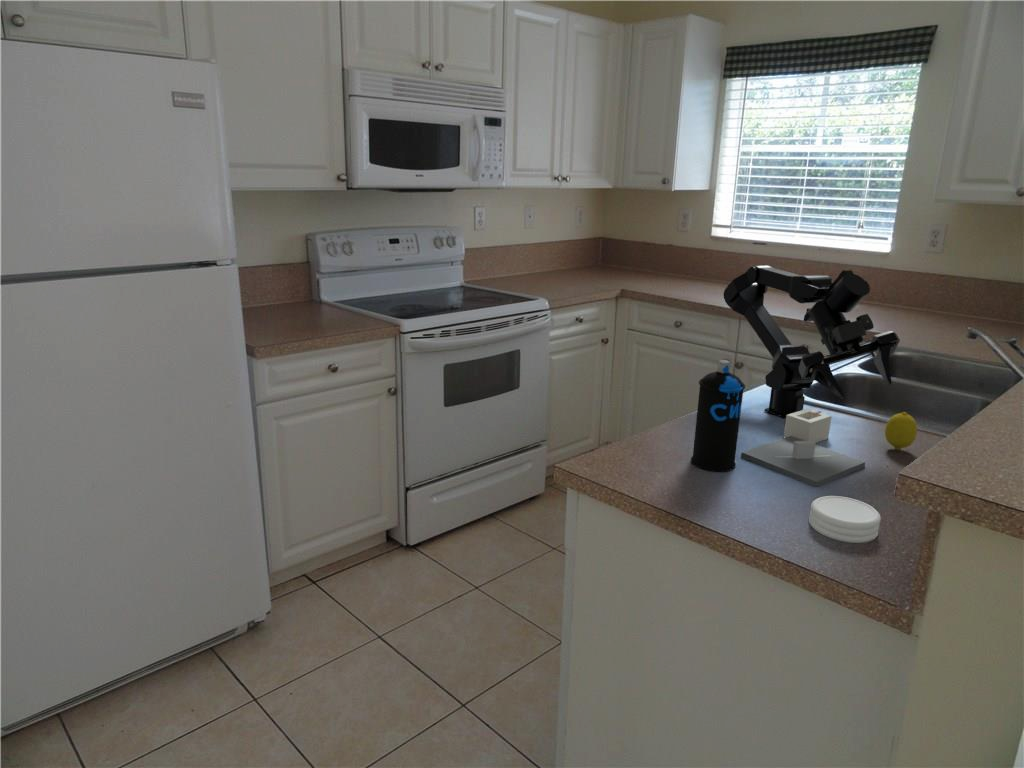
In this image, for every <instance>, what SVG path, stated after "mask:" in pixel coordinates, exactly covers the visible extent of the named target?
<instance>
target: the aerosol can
mask: <svg viewBox="0 0 1024 768" xmlns="http://www.w3.org/2000/svg"><path fill="white" fill-rule="evenodd" d="M730 364H731V361H729V360H726V359H720V360H718V366H717V367H718V368H717V370H716V371H713V372H709V373H708V374H705V375H704V376H703V377H702V378H701V379H699V381H698V386H699V392H698V393H699V394H698V402H697V412H696V422H695V429H694V430H695V432H694V440H693V441H694V442H693V449H692V450H693V451H692V456H691V458H690V462H691V463H692V464H693V465H694V466H695V467H697V468H699V469H701V470H704V471H709V472H714V473H715V472H716V473H717V472H719V473H725V472H729V471H733V470H734V469H735V468H736V467H737V465H736V464H737V463H736V462H735V461H736V453H737V447H738V446H737V445H738V437H739V429H740V421H741V413H742V405H743V398H744V397H743V396H744V390H745V388H746V385H745V383H744V382H743V381H742V380H741V378H740V377H738V376H737V375H735V374H733V373H731V372H730V366H731V365H730Z"/></svg>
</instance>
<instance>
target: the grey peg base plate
mask: <svg viewBox="0 0 1024 768" xmlns="http://www.w3.org/2000/svg"><path fill="white" fill-rule="evenodd" d="M740 457H741V458H742V459H745V460H747V461H750V462H752V463H756V464H758V465H760V466H762V467H766V468H767V469H770V470H772V471H775V472H777V473H780V474H782V475H785V476H787V477H790V478H793V479H795V480H798V481H800V482H802V483H805V484H808V485H810V486H812V487H815V488H816V487H820V486H822V485H824V484H826V483H829V482H831V481H833V480H837V479H839V478H840V477H843V476H846V475H848V474H851V473H853V472H856V471H858V470H860V469H862V468H863V469H864V468H865V466H866V461H863V460H861V459H858V458H855V457H852V456H849V455H847V454H844V453H840V452H839V451H835V450H832V449H829V448H827V447H824V446H821V445H818V444H817V443H814V442H813V441H804V440H801V439H798V438H795V437H793V436H789V437H786V438H783V437H782V438H780V439H777V440H775V441H774V440H773V441H771V442H768V443H765V444H762V445H759V446H756V447H753V448H750V449H747V450H743V451H741V453H740Z"/></svg>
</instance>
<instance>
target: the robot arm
mask: <svg viewBox="0 0 1024 768" xmlns="http://www.w3.org/2000/svg"><path fill="white" fill-rule="evenodd" d="M768 287H770V288H772V289H775V290H778V291H782V292H786V293H787V294H788V295H789V298H791V299H792V300H794V301H795V302H797V303H799V304H813V305H812V307H810V308H809V307H808V308H806V312H805V314H804V316H803V321H804V322H813V324H814V325H815V328H816V329H817V332H818V333H819V335H820V337H821V340H820V341H821V344H822V346H823V345H825V347H826V349H827V351H828V353H829V354H827V355H825V356H824V354H823V352H821V351H820V350H819V351H816V352H811V353H810V351H809V348H807V347H806V346H805V345H796V346H794V345H793V344H792V343H791V342H790V340H789V338H788V337H787V336H786V335H785V333H784V332H783V331H782V329H781V328H780V326H779V324H777V322H776V320H775V319H774V318H773V317H772V315H771V313H770V312H769V311H768V309H767V307H766V306H764V300H765V294H766V293H767V292H768V289H769V288H768ZM870 291H871V288H870V284H869V283H868V281H867V280H865V279H864V278H862V277H861V276H860V275H859V274H858V275H857V274H855V273H854V272H853V270H851V269H847V270H846V269H843V270H842V271H840V273H839V275H838V276H837V278H835V280H834V281H832V277H830V276H829V275H820V274H819V275H817V274H816V275H801V274H797V273H794V272H789V271H786V270H782V269H778V268H776V267H772V266H770V265H768V264H767V265H753V266H750V267H749V268H748V269H747V271H745V272H743V273H742V274H740V275H739V276H737V277H735V278H734V279H732V281H731V282H730V283H729V284H727V286H726V287H725V289H724V290H723V299H724V302H725V303H726V305H727V306H728V307H729V309H731V310H732V311H733V312H735V313H737V314H739V315H741V316H743V317H744V318H745V320H747V322H748V324H749V325H750V327H751V328H752V329H753V330H754V332H755V333H756V335H757V337H758V338H759V339H760V341H761V342H762V344H763V345H764V347H765V348H766V349H767V351H768V352H769V354H770V355H771V357H772V365H771V371H769V372H768V373H767V374H766V375H765V386H766V387H768V388H771V389H770V397H769V405H768V407H766V408H764V410H763V411H764V412H766V413H769V414H773V415H775V416H778V417H781V418H785V419H786V416H787V415H788V414H791V413H794V412H798V411H801V410H804V406H805V405H804V404H805V398H806V397H805V395H804V393H805V389H811V387H812V385H813V384H814V381H816V382H817V383H819V384H821V385H822V386H824V387H825V388H827V389H828V390H829V391H831V392H832V393H833V394H835V395H836V396H837V397H838V398H840V400H844V399H845V394H844V391H843V389H842V388H841V386H840V385H839V383H838V381H837V379H836V377H835V376H834V374H833V372H832V370H831V367H830V365H833V364H837V363H841V362H844V361H848V360H851V359H854V358H858V357H861V356H865V355H869V354H870V355H871V357H873V358H874V359H873V364H874V365H875V367H876V368H877V370H878V372H879V374H880V375H881V377H882V380H883V381H884V382H885V384H887V386H888V387H889V386H891V385H892V376H891V367H890V358H891V355H892V354H894V352H895V351H896V349H897V347H898V345H899V344H900V341H901V339H900V338H899V335H898V334H897V332H894V331H892V330H889V331H884V332H882V333H879V334H875V335H873V336H872V338H871V340H870V342H868V343H865V344H860V343H863V341H864V337H863V336H867V332H868V331H869V332H870V331H871V330H873V329H874V323H873V321H872V318H871V317H870V315H869V314H868V313H865V314H861V315H858V316H856V317H855V319H856V320H854V321H852V320H850V319H847V317H845V316H846V315H845V314H846V313H849V312H850V313H851V311H853V310H854V309H855V308H856V307H857V306H858V305H859V304H860V302H862V301H863V300H864V299H865V297H867V296H868V294H870ZM844 313H845V314H844Z"/></svg>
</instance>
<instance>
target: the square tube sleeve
mask: <svg viewBox="0 0 1024 768" xmlns="http://www.w3.org/2000/svg"><path fill="white" fill-rule="evenodd" d="M832 417H833V416H832V415H830V414H827V413H824V412H822V411H821V410H813V409H811V408H803V410H801V411H798V412H794V413H791V414H788V415H787V416H786V418H785V423H784V425H785V426H784V430H783V431H784V432H783V437H785V438H786V437H789V436H793V437H795V438H798V439H801V440H804V441H813V442H814V443H815V444H817V443H819V441H820V442H822V440H823V441H825V440H828V439H829V435H830V429H831V423H832V422H831V421H832V419H833V418H832ZM827 438H828V439H827ZM816 442H817V443H816Z"/></svg>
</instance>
